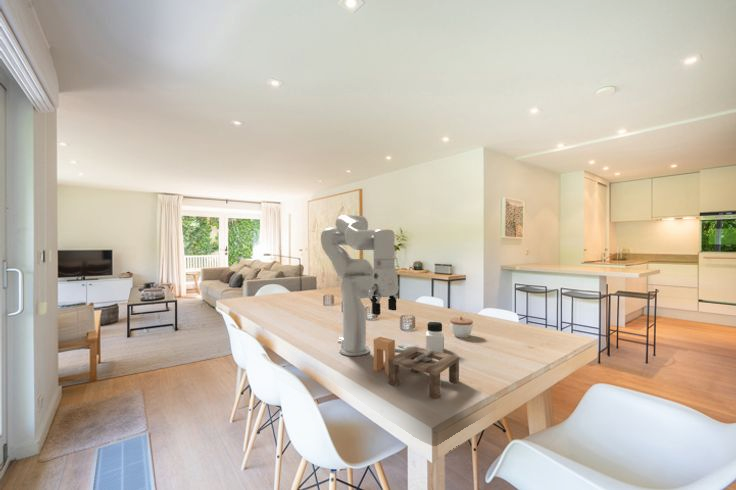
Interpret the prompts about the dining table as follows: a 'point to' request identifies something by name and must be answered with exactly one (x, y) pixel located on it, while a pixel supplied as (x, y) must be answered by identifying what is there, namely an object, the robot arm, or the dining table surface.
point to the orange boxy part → (379, 346)
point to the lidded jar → (461, 327)
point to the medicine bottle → (435, 337)
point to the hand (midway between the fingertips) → (384, 312)
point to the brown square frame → (425, 367)
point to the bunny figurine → (409, 348)
